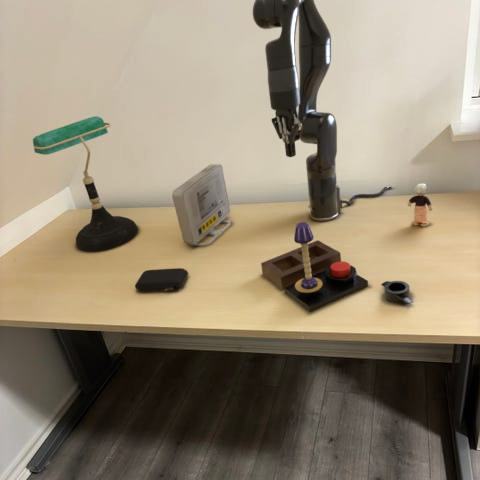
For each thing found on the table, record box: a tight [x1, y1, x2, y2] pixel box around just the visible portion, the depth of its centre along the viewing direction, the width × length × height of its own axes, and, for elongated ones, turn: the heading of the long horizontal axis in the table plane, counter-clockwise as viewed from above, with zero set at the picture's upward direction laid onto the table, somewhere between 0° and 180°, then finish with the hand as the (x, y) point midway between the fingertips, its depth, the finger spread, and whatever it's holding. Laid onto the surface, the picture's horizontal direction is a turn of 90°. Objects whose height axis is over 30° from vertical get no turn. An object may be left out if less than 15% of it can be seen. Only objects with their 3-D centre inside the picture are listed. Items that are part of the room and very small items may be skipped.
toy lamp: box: [293, 221, 318, 289], centre depth 123 cm, size 5×5×17 cm
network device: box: [171, 163, 232, 247], centre depth 166 cm, size 26×9×20 cm, turn 152°
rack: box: [260, 240, 342, 291], centre depth 140 cm, size 11×19×4 cm, turn 117°
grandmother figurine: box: [407, 183, 433, 228], centre depth 149 cm, size 8×4×13 cm, turn 58°
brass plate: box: [295, 277, 323, 293], centre depth 127 cm, size 7×7×1 cm
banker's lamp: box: [32, 115, 139, 253], centre depth 173 cm, size 26×23×40 cm
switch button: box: [331, 260, 351, 277], centre depth 130 cm, size 5×5×2 cm
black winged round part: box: [380, 280, 414, 304], centre depth 122 cm, size 8×10×3 cm
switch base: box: [283, 264, 369, 313], centre depth 130 cm, size 18×12×4 cm, turn 117°
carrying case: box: [134, 267, 189, 292], centre depth 146 cm, size 11×3×15 cm
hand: (291, 156), depth 134 cm, fingers closed
